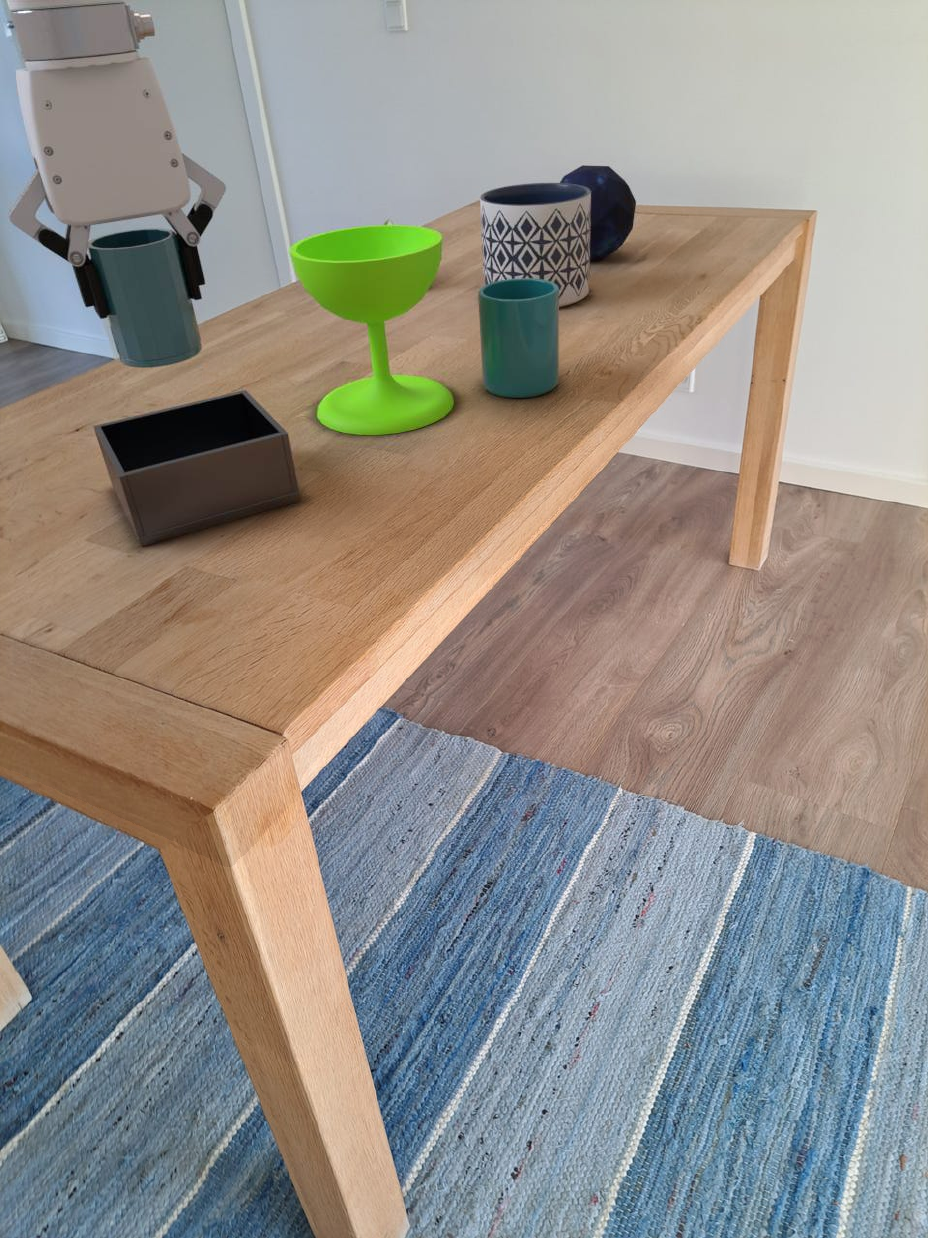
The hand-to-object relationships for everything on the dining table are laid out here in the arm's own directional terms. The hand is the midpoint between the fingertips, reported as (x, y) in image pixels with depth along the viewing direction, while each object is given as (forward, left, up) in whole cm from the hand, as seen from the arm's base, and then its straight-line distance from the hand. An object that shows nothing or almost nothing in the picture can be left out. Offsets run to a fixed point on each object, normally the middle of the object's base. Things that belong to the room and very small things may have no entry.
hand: (148, 302), depth 71 cm
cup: (+42, +12, -20) cm, 49 cm away
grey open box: (+1, +5, -20) cm, 21 cm away
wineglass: (+25, +15, -20) cm, 36 cm away
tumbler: (0, 0, -4) cm, 4 cm away
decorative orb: (+81, +54, -20) cm, 100 cm away
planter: (+62, +41, -20) cm, 78 cm away
